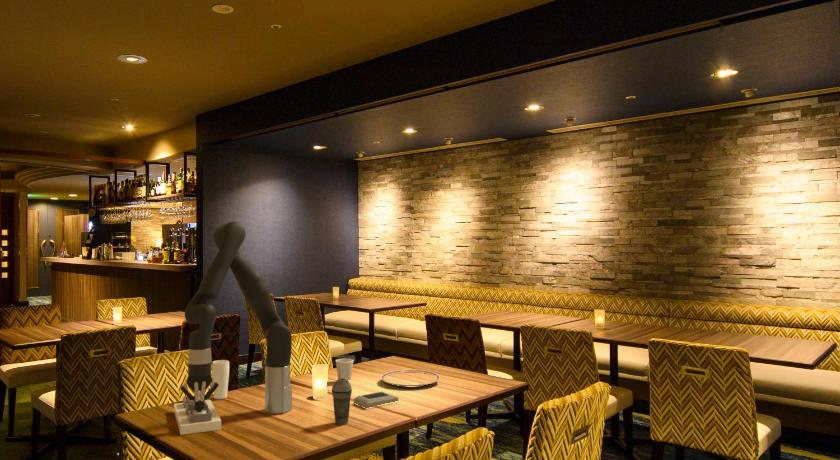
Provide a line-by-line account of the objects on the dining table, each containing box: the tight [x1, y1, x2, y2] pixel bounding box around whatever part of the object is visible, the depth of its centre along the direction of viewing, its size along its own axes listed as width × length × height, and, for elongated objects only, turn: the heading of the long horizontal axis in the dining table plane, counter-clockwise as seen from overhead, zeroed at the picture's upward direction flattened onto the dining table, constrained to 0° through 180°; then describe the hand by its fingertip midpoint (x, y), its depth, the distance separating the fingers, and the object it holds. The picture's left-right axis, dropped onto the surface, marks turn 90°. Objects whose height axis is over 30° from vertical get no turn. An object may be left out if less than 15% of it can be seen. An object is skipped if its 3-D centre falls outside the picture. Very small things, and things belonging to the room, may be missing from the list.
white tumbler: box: [211, 359, 230, 400], centre depth 242 cm, size 7×7×15 cm
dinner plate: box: [380, 369, 441, 386], centre depth 269 cm, size 27×27×3 cm
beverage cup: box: [331, 366, 353, 425], centre depth 209 cm, size 7×7×20 cm
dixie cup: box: [335, 358, 355, 380], centre depth 270 cm, size 8×8×10 cm
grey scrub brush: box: [353, 391, 399, 408], centre depth 234 cm, size 10×4×15 cm
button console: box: [173, 394, 222, 436], centre depth 212 cm, size 30×13×6 cm, turn 26°
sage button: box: [193, 410, 207, 415], centre depth 203 cm, size 5×5×2 cm
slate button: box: [190, 399, 200, 408], centre depth 212 cm, size 5×5×2 cm
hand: (199, 411), depth 203 cm, fingers closed
